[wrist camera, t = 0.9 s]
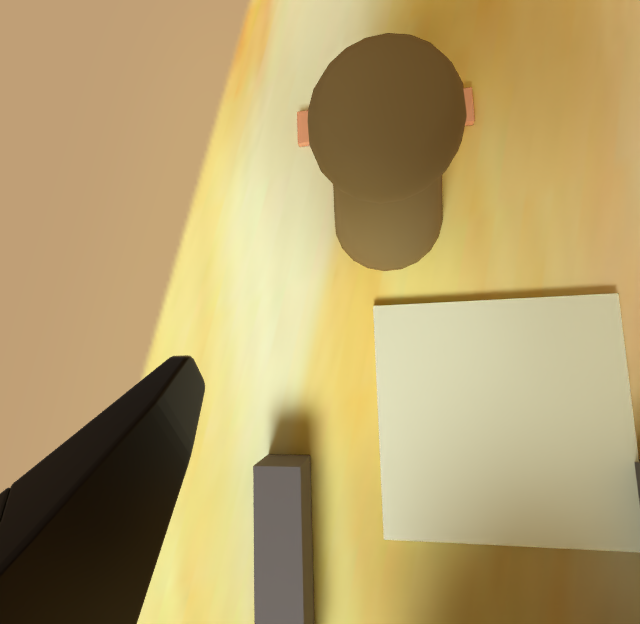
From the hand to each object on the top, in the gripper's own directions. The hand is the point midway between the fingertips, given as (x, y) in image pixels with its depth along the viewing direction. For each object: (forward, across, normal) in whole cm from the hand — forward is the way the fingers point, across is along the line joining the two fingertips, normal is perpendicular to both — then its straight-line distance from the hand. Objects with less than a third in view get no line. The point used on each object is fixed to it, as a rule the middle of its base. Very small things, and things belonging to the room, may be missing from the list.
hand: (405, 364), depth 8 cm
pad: (+7, -5, +12) cm, 15 cm away
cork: (+16, 0, +4) cm, 16 cm away
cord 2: (+2, +6, +17) cm, 18 cm away
